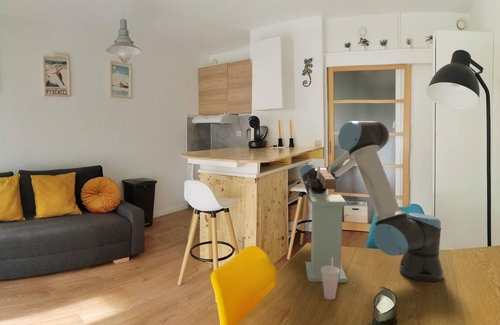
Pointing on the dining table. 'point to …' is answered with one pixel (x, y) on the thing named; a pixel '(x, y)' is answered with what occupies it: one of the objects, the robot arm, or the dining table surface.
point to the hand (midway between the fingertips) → (324, 169)
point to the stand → (325, 235)
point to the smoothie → (330, 280)
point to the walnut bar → (327, 179)
